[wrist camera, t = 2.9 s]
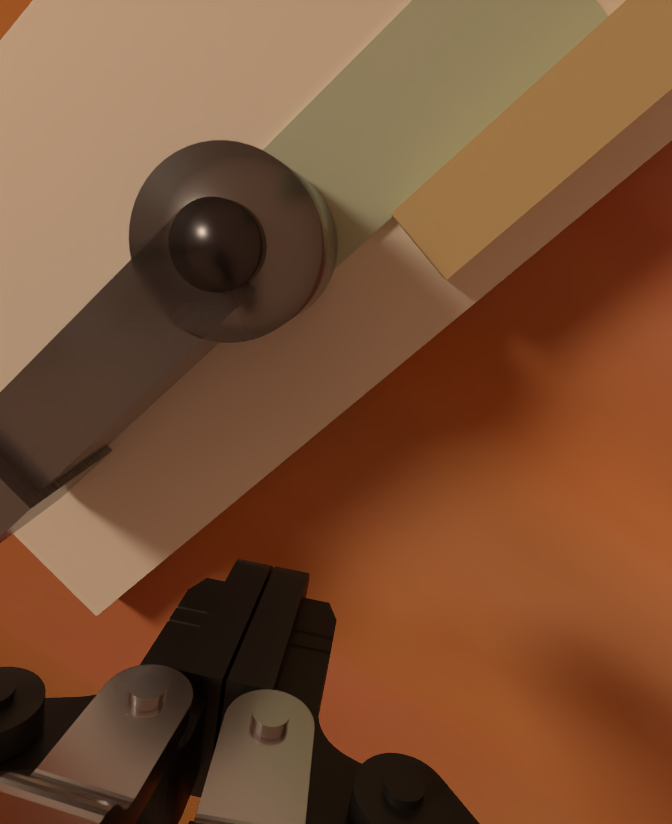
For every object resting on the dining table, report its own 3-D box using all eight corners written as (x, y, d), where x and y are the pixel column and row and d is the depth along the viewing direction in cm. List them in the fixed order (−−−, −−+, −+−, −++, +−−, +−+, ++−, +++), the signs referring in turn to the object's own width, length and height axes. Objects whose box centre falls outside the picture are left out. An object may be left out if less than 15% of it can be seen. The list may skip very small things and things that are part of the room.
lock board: (112, 596, 21) (67, 651, 18) (-180, 303, 20) (-280, 313, 17) (830, -1, 15) (931, -58, 12) (490, -504, 13) (515, -710, 11)
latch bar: (264, 127, 16) (215, 84, 11) (370, 252, 16) (359, 255, 12) (-21, 417, 18) (-144, 467, 14) (76, 515, 19) (-15, 591, 15)
